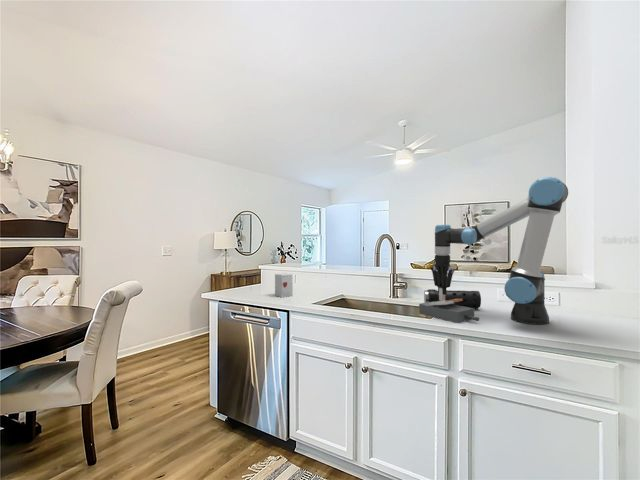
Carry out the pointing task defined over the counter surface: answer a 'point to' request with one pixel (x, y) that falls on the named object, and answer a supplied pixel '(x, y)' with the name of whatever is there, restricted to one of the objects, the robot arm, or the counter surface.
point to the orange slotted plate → (455, 300)
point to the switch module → (448, 312)
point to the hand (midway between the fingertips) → (442, 300)
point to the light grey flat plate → (441, 302)
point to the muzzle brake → (456, 297)
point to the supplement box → (283, 285)
